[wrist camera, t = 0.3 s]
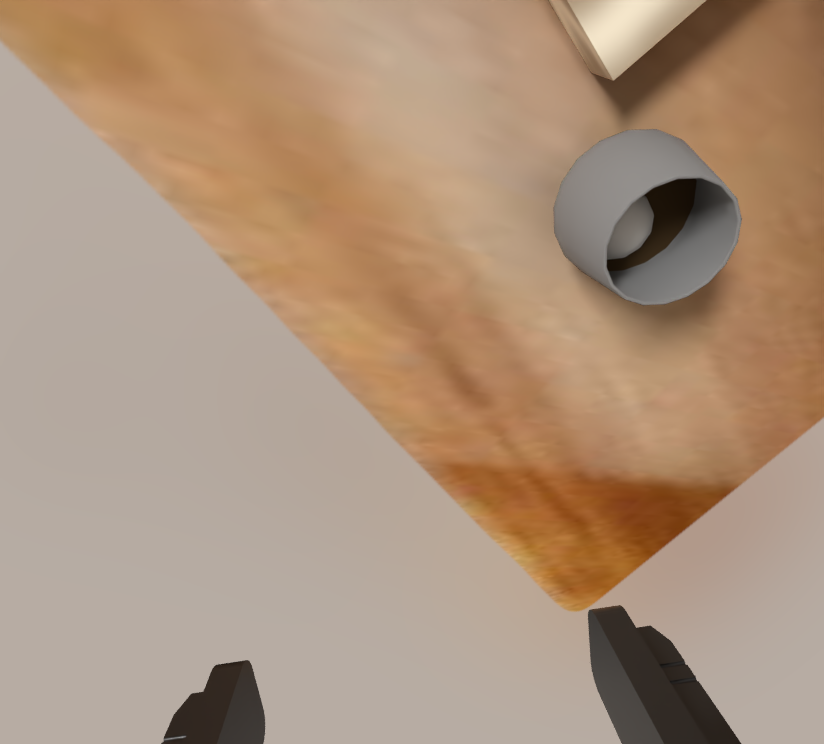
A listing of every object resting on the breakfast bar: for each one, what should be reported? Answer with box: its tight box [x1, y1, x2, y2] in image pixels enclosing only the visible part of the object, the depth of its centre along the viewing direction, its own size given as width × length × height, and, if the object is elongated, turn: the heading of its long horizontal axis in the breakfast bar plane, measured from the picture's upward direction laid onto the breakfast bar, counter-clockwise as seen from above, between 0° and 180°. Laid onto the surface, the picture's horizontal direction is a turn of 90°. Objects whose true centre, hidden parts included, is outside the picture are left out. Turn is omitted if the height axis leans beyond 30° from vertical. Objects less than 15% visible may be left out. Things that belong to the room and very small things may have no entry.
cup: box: [554, 129, 742, 305], centre depth 34 cm, size 10×9×10 cm
